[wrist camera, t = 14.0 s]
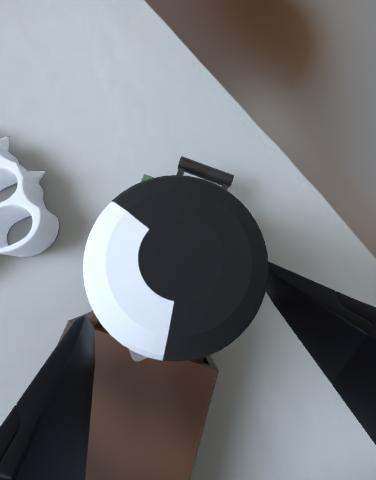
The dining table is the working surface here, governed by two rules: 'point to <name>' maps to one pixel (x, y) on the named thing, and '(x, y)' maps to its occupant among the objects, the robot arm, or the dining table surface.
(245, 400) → the dining table surface
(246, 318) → the medicine bottle
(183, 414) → the cabinet
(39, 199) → the white brass knuckles
